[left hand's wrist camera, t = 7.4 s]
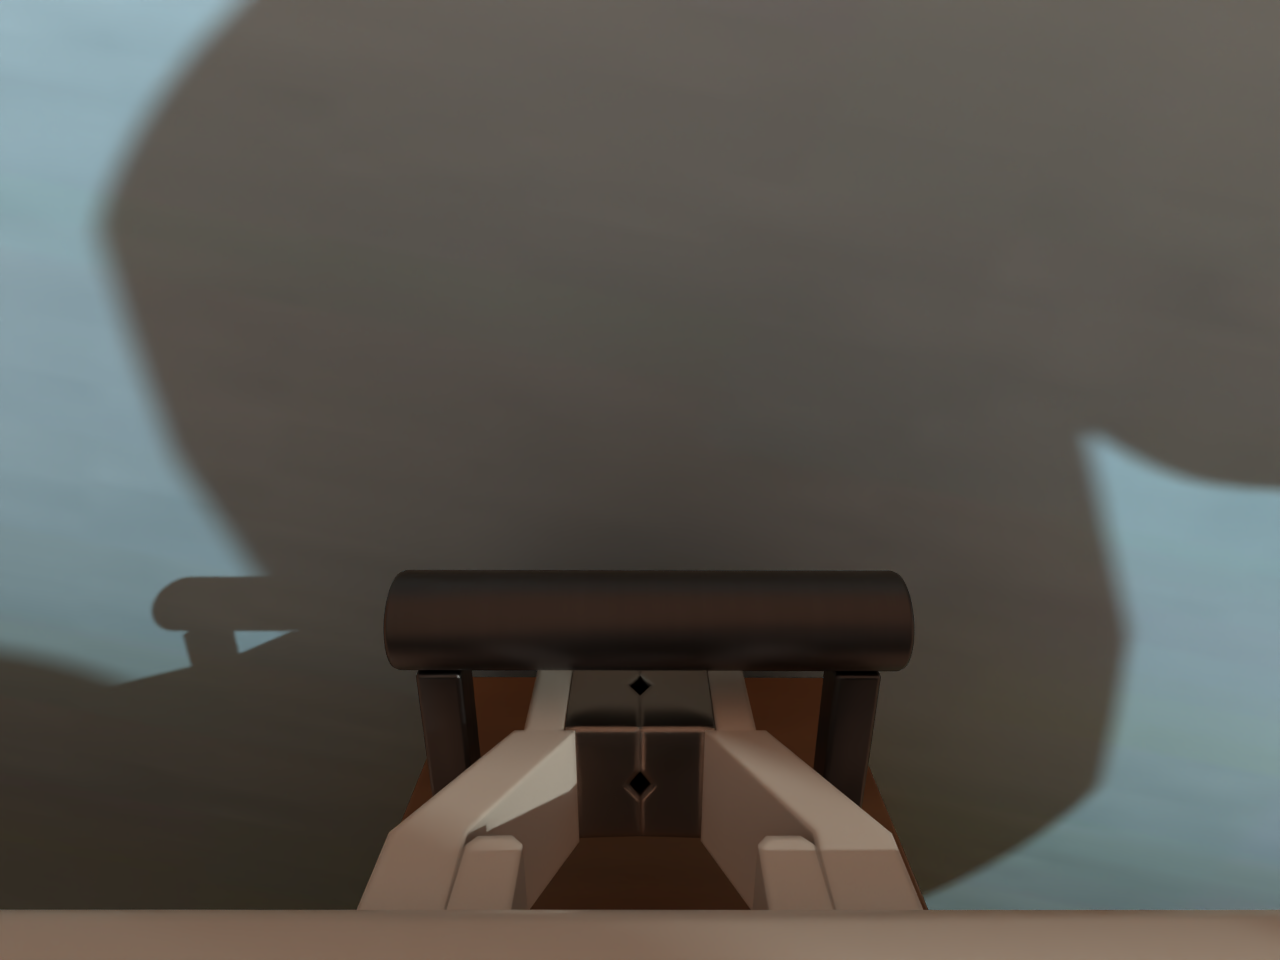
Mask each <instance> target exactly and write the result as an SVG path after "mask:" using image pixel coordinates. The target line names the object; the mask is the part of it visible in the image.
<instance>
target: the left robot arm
mask: <svg viewBox="0 0 1280 960" xmlns="http://www.w3.org/2000/svg"><path fill="white" fill-rule="evenodd" d="M630 836H648V837H683V838H701V842H702V843H703V845H704V846H705V848H706V849H707V850H708V852H709V853H710V854H711V856H712V857H713V859H714V860H715V861H716V863H717V864H718V865H719V867H720V868H721V870H722V871H723V872H724V874H725V875H726V876H727V878H728V879H729V881H730V882H731V883H732V885H733V886H734V887H735V889H736V890H737V891H738V893H739V894H740V896H741V897H742V898H743V900H744V901H745V902H746V904H747V905H748V907H749V908H750V909H751V910H530V908H531V907H532V906H533V904H534V903H535V902H536V900H537V899H538V897H539V896H540V895H541V893H542V892H543V891H544V889H545V888H546V887H547V885H548V884H549V882H550V881H551V880H552V878H553V877H554V876H555V874H556V873H557V872H558V870H559V869H560V867H561V866H562V865H563V863H564V862H565V861H566V859H567V858H568V856H569V855H570V854H571V852H572V851H573V850H574V848H575V847H576V846H577V844H578V843H579V838H596V837H630ZM0 960H1280V910H923V908H922V905H921V903H920V901H919V898H918V896H917V893H916V891H915V888H914V886H913V884H912V881H911V879H910V876H909V874H908V871H907V869H906V867H905V864H904V862H903V859H902V857H901V854H900V852H899V850H898V847H897V845H896V842H895V840H894V837H893V835H892V833H891V832H889V831H888V830H887V829H886V828H884V827H883V826H882V825H881V824H880V823H878V822H877V821H876V820H875V819H873V818H872V817H871V816H870V815H869V814H867V813H866V812H865V811H864V810H862V809H861V808H860V807H859V806H858V805H856V804H855V803H854V802H853V801H852V800H850V799H849V798H848V797H847V796H845V795H844V794H843V793H842V792H841V791H839V790H838V789H837V788H836V787H834V786H833V785H832V784H831V783H830V782H828V781H827V780H826V779H825V778H823V777H822V776H821V775H820V774H819V773H817V772H816V771H815V770H814V769H812V768H811V767H810V766H809V765H808V764H806V763H805V762H804V761H803V760H801V759H800V758H799V757H798V756H797V755H795V754H794V753H793V752H792V751H790V750H789V749H788V748H787V747H786V746H784V745H783V744H782V743H781V742H779V741H778V740H777V739H776V738H775V737H773V736H772V735H771V734H770V733H768V732H767V731H766V730H756V727H755V723H754V719H753V715H752V710H751V706H750V702H749V697H748V693H747V689H746V685H745V680H744V676H743V672H742V671H617V670H538V671H537V675H536V680H535V684H534V688H533V693H532V697H531V701H530V706H529V710H528V714H527V719H526V723H525V727H524V730H514V731H513V732H512V733H510V734H509V735H508V736H507V737H505V738H504V739H503V740H502V741H501V742H499V743H498V744H497V745H496V746H494V747H493V748H492V749H491V750H489V751H488V752H487V753H486V754H485V755H483V756H482V757H481V758H480V759H478V760H477V761H476V762H475V763H474V764H472V765H471V766H470V767H469V768H467V769H466V770H465V771H464V772H462V773H461V774H460V775H459V776H458V777H456V778H455V779H454V780H453V781H451V782H450V783H449V784H448V785H447V786H445V787H444V788H443V789H442V790H440V791H439V792H438V793H437V794H435V795H434V796H433V797H432V798H431V799H429V800H428V801H427V802H426V803H424V804H423V805H422V806H421V807H420V808H418V809H417V810H416V811H415V812H413V813H412V814H411V815H410V816H409V817H407V818H406V819H405V820H404V821H402V822H401V823H400V824H399V825H397V826H396V827H395V828H394V829H393V830H391V831H390V832H389V833H388V836H387V838H386V841H385V843H384V845H383V848H382V850H381V853H380V855H379V857H378V860H377V862H376V865H375V867H374V869H373V872H372V874H371V876H370V879H369V881H368V884H367V886H366V888H365V891H364V893H363V896H362V898H361V900H360V903H359V905H358V908H357V910H0Z"/></svg>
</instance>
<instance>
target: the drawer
mask: <svg viewBox="0 0 1280 960" xmlns="http://www.w3.org/2000/svg"><path fill="white" fill-rule="evenodd" d="M384 644H385V650H386V654H387V658H388V660H389V662H390V664H391V665H392V666H393V667H394V668H396V669H398V670H418V672H417V675H416V680H417V687H418V695H419V702H420V710H421V717H422V724H423V732H424V739H425V747H426V754H427V759H426V761H425V764H424V766H423V769H422V771H421V774H420V776H419V779H418V781H417V784H416V786H415V789H414V791H413V794H412V796H411V799H410V801H409V803H408V806H407V808H406V811H405V813H404V816H403V818H402V821H404V820H405V819H406V818H407V817H409V816H410V815H411V814H412V813H413V812H415V811H416V810H417V809H418V808H420V807H421V806H422V805H423V804H424V803H426V802H427V801H428V800H429V799H431V798H432V797H433V796H434V795H435V794H437V793H438V792H439V791H440V790H442V789H443V788H444V787H445V786H447V785H448V784H449V783H450V782H451V781H453V780H454V779H455V778H456V777H458V776H459V775H460V774H461V773H462V772H464V771H465V770H466V769H467V768H469V767H470V766H471V765H472V764H474V763H475V762H476V761H477V760H478V759H480V758H481V757H482V756H483V755H485V754H486V753H487V752H488V751H489V750H491V749H492V748H493V747H494V746H496V745H497V744H498V743H499V742H501V741H502V740H503V739H504V738H505V737H507V736H508V735H509V734H510V733H512V732H513V731H514V730H524V727H525V723H526V719H527V714H528V710H529V706H530V701H531V697H532V693H533V688H534V684H535V680H536V677H473V676H472V670H617V671H824V675H823V678H744V680H745V685H746V689H747V693H748V697H749V702H750V706H751V710H752V715H753V719H754V723H755V727H756V730H766V731H767V732H768V733H770V734H771V735H772V736H773V737H775V738H776V739H777V740H778V741H779V742H781V743H782V744H783V745H784V746H786V747H787V748H788V749H789V750H790V751H792V752H793V753H794V754H795V755H797V756H798V757H799V758H800V759H801V760H803V761H804V762H805V763H806V764H808V765H809V766H810V767H811V768H812V769H814V770H815V771H816V772H817V773H819V774H820V775H821V776H822V777H823V778H825V779H826V780H827V781H828V782H830V783H831V784H832V785H833V786H834V787H836V788H837V789H838V790H839V791H841V792H842V793H843V794H844V795H845V796H847V797H848V798H849V799H850V800H852V801H853V802H854V803H855V804H856V805H858V806H859V807H860V808H861V809H862V810H864V811H865V812H866V813H867V814H869V815H870V816H871V817H872V818H873V819H875V820H876V821H877V822H878V823H880V824H881V825H882V826H883V827H884V828H886V829H887V830H888V831H889V832H891V833H892V835H893V837H894V840H895V842H896V845H897V847H898V850H899V852H900V854H901V857H902V859H903V862H904V864H905V867H906V869H907V871H908V874H909V876H910V879H911V881H912V884H913V886H914V888H915V891H916V893H917V896H918V898H919V901H920V903H921V905H922V908H923V910H928V908H927V905H926V903H925V900H924V898H923V896H922V893H921V891H920V888H919V886H918V884H917V881H916V879H915V876H914V874H913V872H912V869H911V867H910V864H909V862H908V859H907V857H906V855H905V852H904V850H903V847H902V845H901V843H900V840H899V838H898V835H897V833H896V831H895V828H894V826H893V823H892V821H891V818H890V816H889V814H888V811H887V809H886V806H885V804H884V802H883V799H882V797H881V794H880V792H879V790H878V787H877V785H876V782H875V780H874V777H873V775H872V773H871V770H870V768H869V765H868V762H869V755H870V748H871V741H872V734H873V727H874V720H875V714H876V707H877V700H878V693H879V686H880V679H881V676H880V673H879V672H878V671H899V670H901V669H903V668H905V667H906V666H907V664H908V663H909V660H910V658H911V654H912V650H913V644H914V615H913V608H912V603H911V599H910V595H909V592H908V589H907V587H906V584H905V582H904V581H903V579H902V578H901V576H900V575H898V574H897V573H895V572H892V571H698V570H405V571H403V572H401V573H399V574H398V575H397V576H396V577H395V579H394V581H393V583H392V585H391V587H390V590H389V593H388V597H387V601H386V606H385V613H384ZM402 821H401V822H402ZM530 910H751V909H750V908H749V907H748V905H747V904H746V902H745V901H744V900H743V898H742V897H741V896H740V894H739V893H738V891H737V890H736V889H735V887H734V886H733V885H732V883H731V882H730V881H729V879H728V878H727V876H726V875H725V874H724V872H723V871H722V870H721V868H720V867H719V865H718V864H717V863H716V861H715V860H714V859H713V857H712V856H711V854H710V853H709V852H708V850H707V849H706V848H705V846H704V845H703V843H702V842H701V838H683V837H648V836H630V837H596V838H579V843H578V844H577V846H576V847H575V848H574V850H573V851H572V852H571V854H570V855H569V856H568V858H567V859H566V861H565V862H564V863H563V865H562V866H561V867H560V869H559V870H558V872H557V873H556V874H555V876H554V877H553V878H552V880H551V881H550V882H549V884H548V885H547V887H546V888H545V889H544V891H543V892H542V893H541V895H540V896H539V897H538V899H537V900H536V902H535V903H534V904H533V906H532V907H531V908H530Z"/></svg>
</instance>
